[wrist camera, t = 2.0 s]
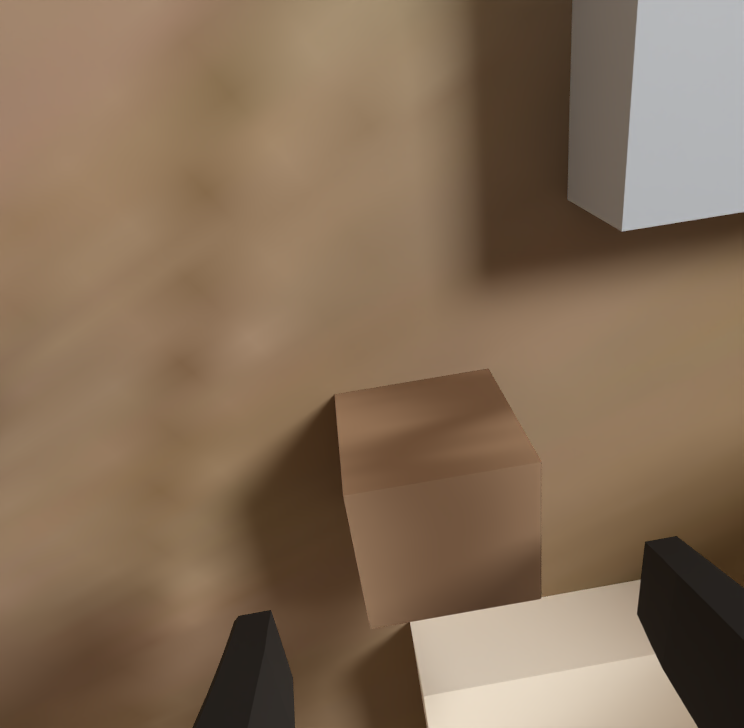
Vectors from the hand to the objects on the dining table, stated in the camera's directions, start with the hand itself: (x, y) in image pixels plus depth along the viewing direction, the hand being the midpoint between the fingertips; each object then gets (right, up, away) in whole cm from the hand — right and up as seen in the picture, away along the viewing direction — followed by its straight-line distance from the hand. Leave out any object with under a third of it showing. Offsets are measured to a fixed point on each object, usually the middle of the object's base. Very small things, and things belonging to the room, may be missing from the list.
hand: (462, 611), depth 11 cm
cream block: (+5, -7, +11) cm, 14 cm away
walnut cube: (0, +3, +5) cm, 6 cm away
